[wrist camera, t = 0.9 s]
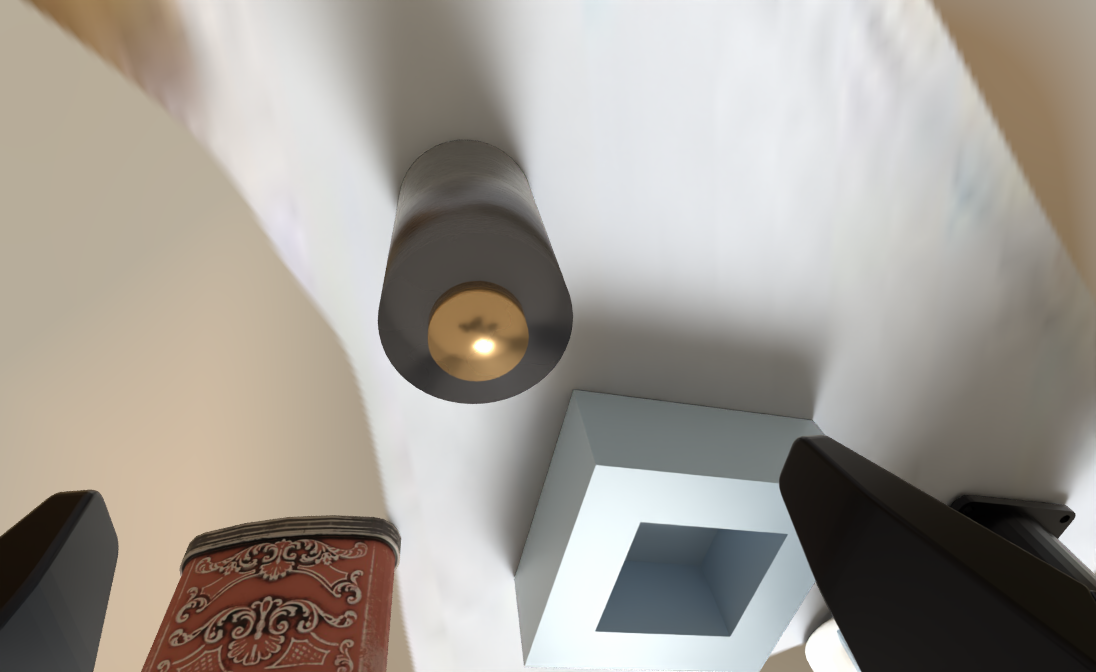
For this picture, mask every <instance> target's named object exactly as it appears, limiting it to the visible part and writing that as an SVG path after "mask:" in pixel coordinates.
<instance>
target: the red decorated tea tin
mask: <svg viewBox="0 0 1096 672" xmlns="http://www.w3.org/2000/svg"><path fill="white" fill-rule="evenodd" d="M400 547H401V537H400V534H399V532H398V530H397V529H396V528H395V527H394V525H393V524H391V523H390V522H388V521H386V520H384V519H380V518H375V517H357V516H335V515H334V516H333V515H332V516H307V517H306V516H305V517H287V518H280V519H273V520H265V521H259V522H251V523H244V524H240V525H236V526H232V527H227V528H223V529H219V530H215V531H210V532H206V533H203V534H201V535H198V536H196V537H195V538H194V539H193V540H192V541H191V542H190V544H189V546H188V548H187V551H186V553H185V556H184V558H183V560H182V563H181V566H180V575H181V578H180V581H179V583H178V585H177V588H176V590H175V593H174V595H173V597H172V600H171V602H170V604H169V607H168V609H167V612H166V614H165V616H164V619H163V621H162V623H161V626H160V628H159V631H158V633H157V635H156V638H155V640H154V643H153V645H152V647H151V650H150V652H149V654H148V657H147V659H146V662H145V664H144V666H143V669H142V671H141V672H386V666H387V655H388V642H389V630H390V617H391V605H392V592H393V580H394V572H395V570H396V569H397V567H398V565H399V560H400Z"/></svg>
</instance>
